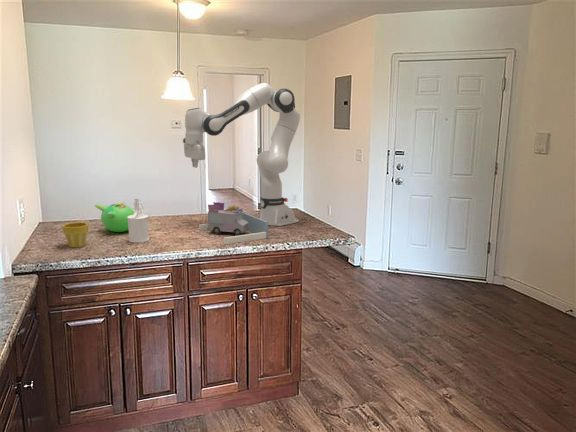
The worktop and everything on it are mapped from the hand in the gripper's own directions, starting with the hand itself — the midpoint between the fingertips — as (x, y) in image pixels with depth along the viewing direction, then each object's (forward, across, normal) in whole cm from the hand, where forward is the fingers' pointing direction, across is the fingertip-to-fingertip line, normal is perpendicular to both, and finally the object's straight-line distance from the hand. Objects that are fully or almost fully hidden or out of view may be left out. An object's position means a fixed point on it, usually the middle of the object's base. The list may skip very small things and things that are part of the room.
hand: (195, 167), depth 247 cm
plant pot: (+31, -10, +61) cm, 69 cm away
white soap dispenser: (+31, -15, +35) cm, 49 cm away
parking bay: (+31, -26, -8) cm, 41 cm away
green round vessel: (+31, +7, +39) cm, 50 cm away
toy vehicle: (+31, -23, -8) cm, 40 cm away
